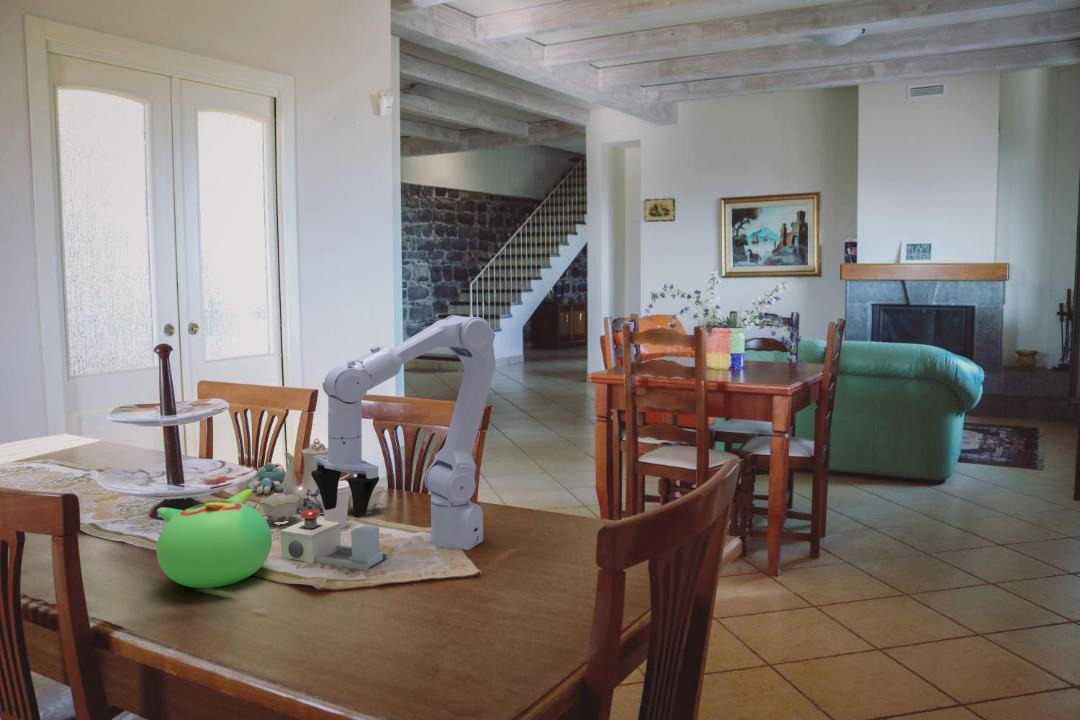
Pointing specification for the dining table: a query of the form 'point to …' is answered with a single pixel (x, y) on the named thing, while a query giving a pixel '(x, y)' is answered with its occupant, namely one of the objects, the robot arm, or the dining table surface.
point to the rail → (343, 562)
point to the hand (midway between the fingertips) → (344, 512)
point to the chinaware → (305, 489)
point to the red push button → (310, 518)
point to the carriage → (366, 545)
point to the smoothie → (339, 505)
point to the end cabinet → (310, 541)
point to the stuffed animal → (268, 478)
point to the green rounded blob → (213, 542)
